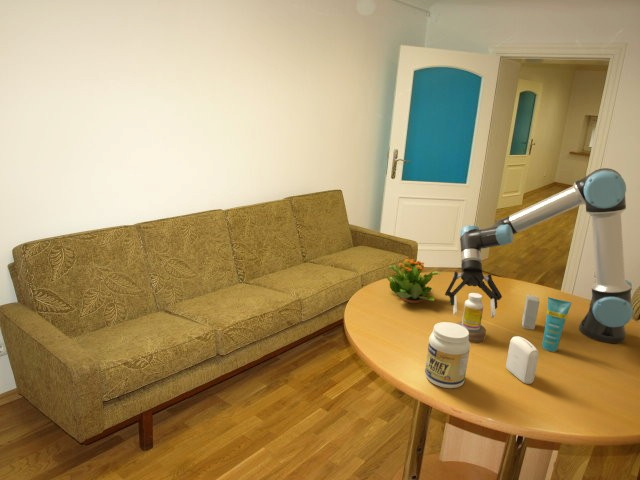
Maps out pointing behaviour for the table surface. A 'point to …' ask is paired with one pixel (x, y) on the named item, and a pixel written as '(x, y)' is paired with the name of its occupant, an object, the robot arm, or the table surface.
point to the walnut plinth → (476, 334)
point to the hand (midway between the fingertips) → (474, 315)
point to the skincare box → (530, 312)
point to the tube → (554, 323)
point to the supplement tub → (447, 355)
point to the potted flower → (411, 282)
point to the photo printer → (522, 359)
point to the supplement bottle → (473, 312)
